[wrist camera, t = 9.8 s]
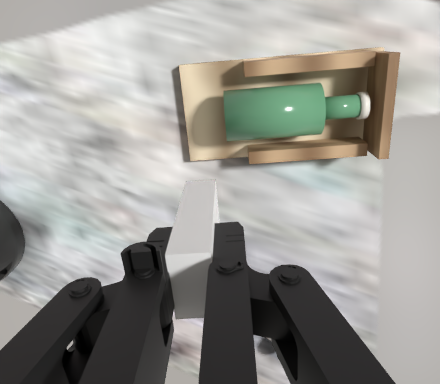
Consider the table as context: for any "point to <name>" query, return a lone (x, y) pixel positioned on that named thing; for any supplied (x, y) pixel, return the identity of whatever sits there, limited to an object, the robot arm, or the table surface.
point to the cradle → (290, 75)
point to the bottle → (287, 111)
